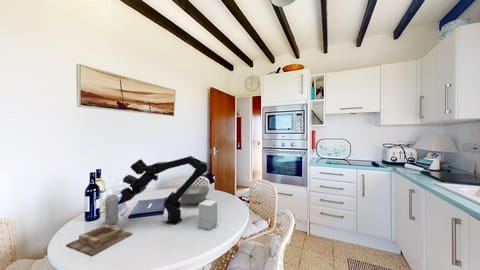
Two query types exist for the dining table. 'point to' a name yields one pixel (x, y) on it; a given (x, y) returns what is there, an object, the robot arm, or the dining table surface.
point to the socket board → (94, 251)
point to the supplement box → (207, 214)
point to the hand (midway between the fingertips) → (123, 200)
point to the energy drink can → (111, 209)
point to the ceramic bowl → (194, 194)
